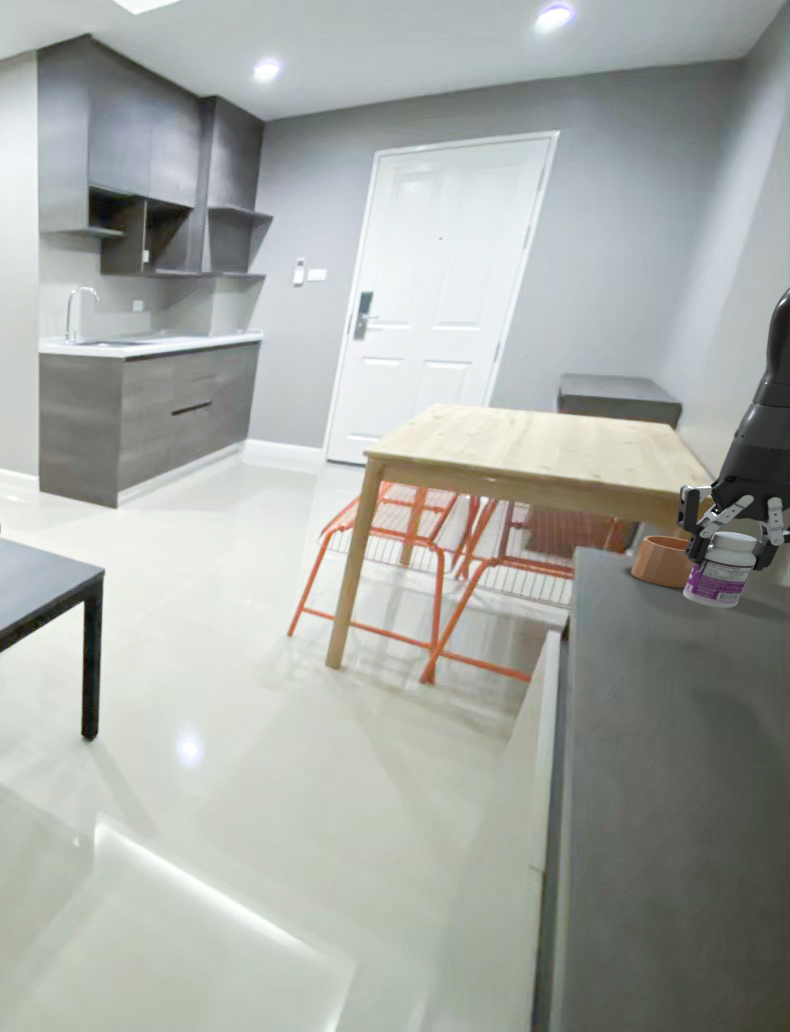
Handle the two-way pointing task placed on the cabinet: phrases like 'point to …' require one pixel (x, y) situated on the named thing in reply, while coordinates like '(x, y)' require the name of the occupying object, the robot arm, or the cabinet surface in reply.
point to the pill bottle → (722, 571)
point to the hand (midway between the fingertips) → (723, 564)
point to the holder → (663, 561)
